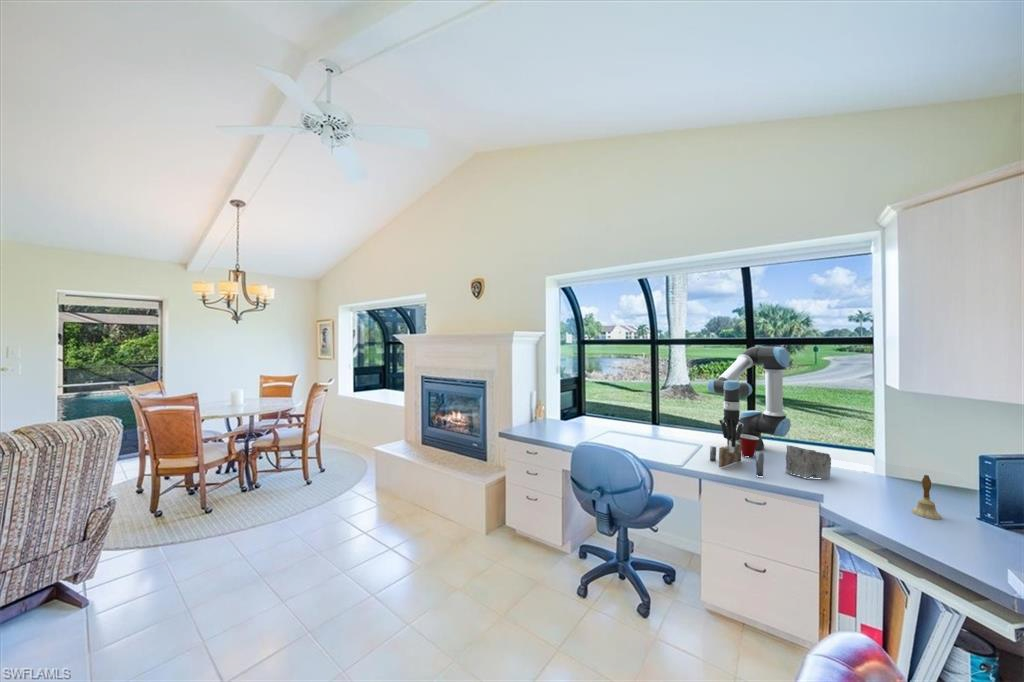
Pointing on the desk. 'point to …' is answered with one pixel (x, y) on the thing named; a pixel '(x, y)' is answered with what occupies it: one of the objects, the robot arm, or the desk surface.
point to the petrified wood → (808, 463)
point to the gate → (729, 455)
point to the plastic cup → (748, 444)
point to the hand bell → (926, 502)
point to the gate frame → (758, 464)
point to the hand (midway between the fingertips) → (731, 452)
